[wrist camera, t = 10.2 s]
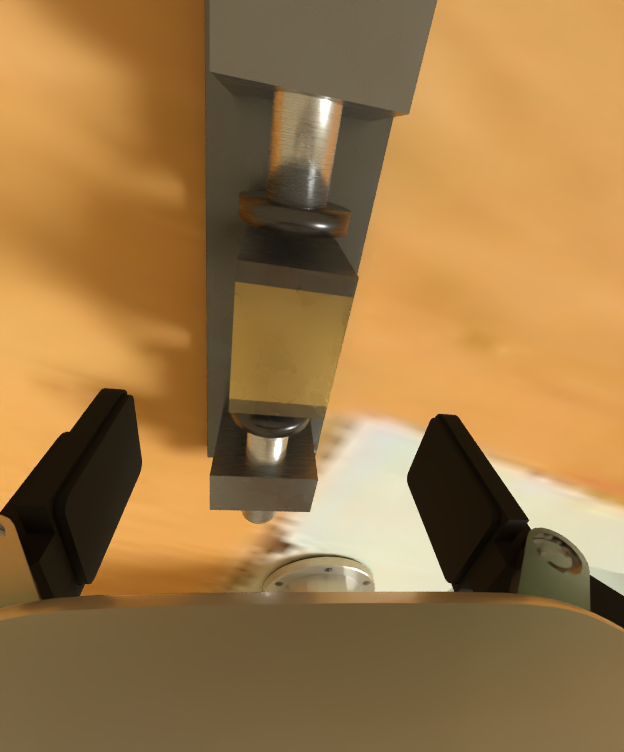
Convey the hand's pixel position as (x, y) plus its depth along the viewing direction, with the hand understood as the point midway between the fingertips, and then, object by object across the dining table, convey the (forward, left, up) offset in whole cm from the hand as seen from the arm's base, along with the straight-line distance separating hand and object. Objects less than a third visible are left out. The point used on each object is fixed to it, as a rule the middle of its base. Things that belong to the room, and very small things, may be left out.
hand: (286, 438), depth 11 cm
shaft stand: (+1, 0, -12) cm, 12 cm away
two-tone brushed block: (+1, 0, -11) cm, 11 cm away
